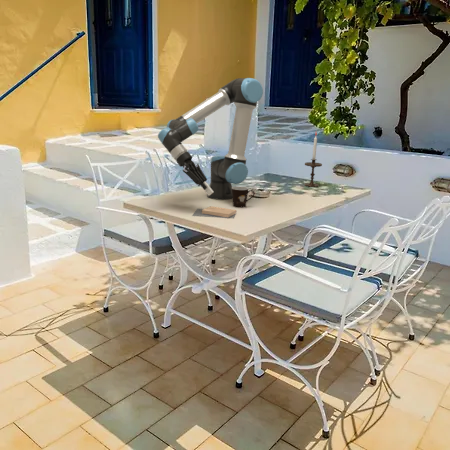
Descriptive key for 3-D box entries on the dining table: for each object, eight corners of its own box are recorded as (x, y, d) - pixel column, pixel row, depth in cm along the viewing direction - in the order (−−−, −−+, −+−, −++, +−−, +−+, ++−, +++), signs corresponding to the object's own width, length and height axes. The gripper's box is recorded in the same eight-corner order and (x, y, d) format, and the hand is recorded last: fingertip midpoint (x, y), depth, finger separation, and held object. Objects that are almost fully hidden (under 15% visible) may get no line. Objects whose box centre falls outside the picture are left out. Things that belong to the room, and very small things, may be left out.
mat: (197, 209, 234) (197, 208, 234) (236, 211, 232) (236, 210, 232) (191, 217, 220) (191, 215, 220) (234, 219, 219) (234, 218, 218)
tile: (210, 206, 231) (236, 210, 225) (210, 210, 232) (236, 214, 226) (201, 210, 224) (228, 214, 218) (201, 214, 224) (228, 218, 218)
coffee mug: (230, 208, 238) (230, 189, 236) (232, 204, 247) (232, 186, 244) (252, 210, 237) (253, 190, 234) (254, 206, 245) (255, 187, 242)
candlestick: (304, 183, 309) (308, 129, 300) (321, 185, 306) (325, 130, 296) (301, 186, 299) (306, 131, 290) (318, 188, 296) (323, 132, 286)
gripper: (183, 159, 234) (212, 196, 232) (169, 162, 223) (199, 201, 220) (193, 149, 230) (222, 186, 228) (179, 152, 219) (209, 191, 217)
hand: (211, 193), depth 224 cm, fingers closed
